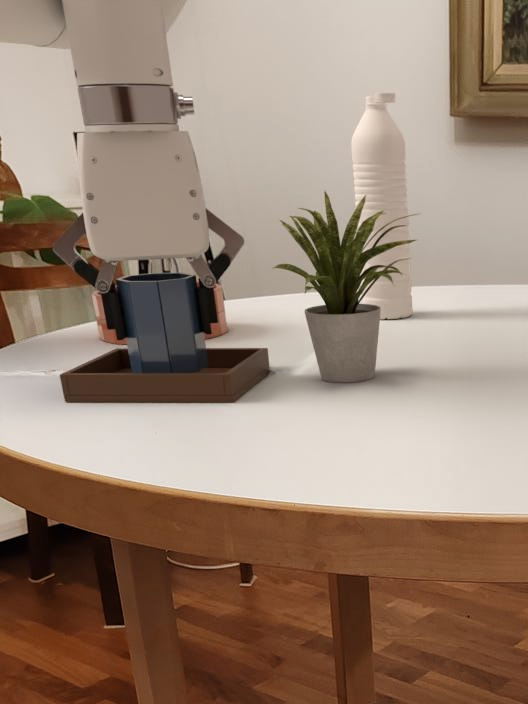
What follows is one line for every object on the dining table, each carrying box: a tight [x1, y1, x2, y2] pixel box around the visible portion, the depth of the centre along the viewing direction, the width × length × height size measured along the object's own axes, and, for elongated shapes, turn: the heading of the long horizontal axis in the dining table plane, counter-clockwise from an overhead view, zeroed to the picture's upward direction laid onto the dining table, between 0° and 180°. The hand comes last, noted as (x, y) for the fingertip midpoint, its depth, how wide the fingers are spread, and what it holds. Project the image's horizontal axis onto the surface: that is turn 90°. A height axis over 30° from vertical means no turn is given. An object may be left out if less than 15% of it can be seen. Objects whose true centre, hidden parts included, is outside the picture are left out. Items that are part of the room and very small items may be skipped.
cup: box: [115, 272, 208, 373], centre depth 89 cm, size 6×6×8 cm
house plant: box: [272, 190, 422, 383], centre depth 89 cm, size 14×14×16 cm
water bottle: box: [350, 92, 414, 320], centre depth 120 cm, size 9×6×25 cm
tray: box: [59, 347, 271, 403], centre depth 91 cm, size 15×12×2 cm
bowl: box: [91, 281, 228, 345], centre depth 113 cm, size 14×14×6 cm
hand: (164, 333), depth 89 cm, fingers closed on cup, 6 cm apart
